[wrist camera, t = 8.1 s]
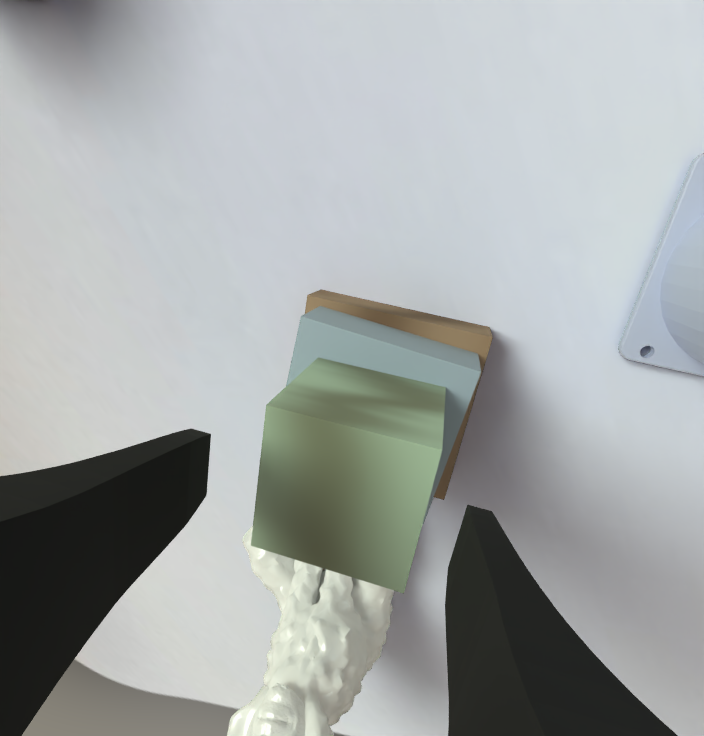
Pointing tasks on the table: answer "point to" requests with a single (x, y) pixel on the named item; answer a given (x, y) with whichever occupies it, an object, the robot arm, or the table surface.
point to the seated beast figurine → (313, 646)
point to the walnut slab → (421, 325)
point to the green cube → (349, 470)
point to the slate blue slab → (391, 362)
